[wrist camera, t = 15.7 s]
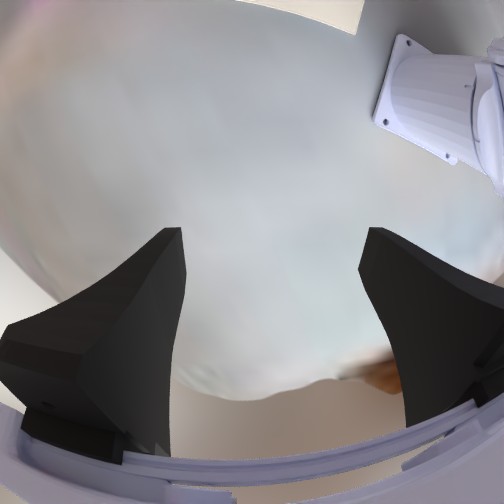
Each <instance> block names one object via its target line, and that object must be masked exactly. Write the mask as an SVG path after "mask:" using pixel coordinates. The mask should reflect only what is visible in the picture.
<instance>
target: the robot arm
mask: <svg viewBox="0 0 504 504" xmlns="http://www.w3.org/2000/svg"><path fill="white" fill-rule="evenodd" d="M406 41H408V42H409V46H408V45H407V43H406ZM487 52H488V55H489V58H488V57H478V56H466V55H441V54H433V53H432V52H431V51H429V50H428V49H426V48H425V47H423V46H422V45H420V44H419V43H417V42H416V41H414V40H412V39H411V38H409V37H407V36H406V35H404V34H398V35H397V36H396V39H395V43H394V47H393V50H392V54H391V58H390V62H389V65H388V69H387V72H386V76H385V79H384V82H383V86H382V89H381V92H380V96H379V99H378V102H377V105H376V108H375V111H374V114H373V122H374V124H376V125H377V126H380V127H382V128H384V129H386V130H388V131H391V132H393V133H395V134H397V135H399V136H401V137H403V138H405V139H407V140H409V141H411V142H413V143H415V144H417V145H418V146H420V147H422V148H424V149H426V150H428V151H429V152H431V153H433V154H435V155H437V156H438V157H440V158H442V159H443V160H445V161H447V162H448V163H450V164H452V165H456V164H457V162H458V159H459V160H461V161H463V162H464V163H466V164H468V165H470V166H472V167H473V168H475V169H477V170H479V171H480V172H482V173H484V174H485V175H487V176H488V177H490V178H491V180H492V182H493V186H494V192H495V193H496V194H498V195H499V196H501V197H502V198H503V199H504V38H495V39H494V40H493V41H492V43H491V46H489V47H488V48H487ZM384 119H386V121H387V122H386V124H385V125H384V124H383V120H384ZM446 154H447V156H446ZM358 271H359V274H360V277H361V280H362V283H363V286H364V288H365V291H366V293H367V295H368V297H369V299H370V301H371V303H372V305H373V307H374V309H375V311H376V313H377V315H378V317H379V319H380V321H381V323H382V325H383V327H384V329H385V331H386V334H387V336H388V338H389V341H390V344H391V347H392V350H393V354H394V357H395V360H396V364H397V368H398V372H399V376H400V381H401V386H402V392H403V397H404V405H405V416H406V429H403V430H400V431H397V432H394V433H391V434H388V435H385V436H381V437H378V438H375V439H371V440H368V441H364V442H360V443H356V444H352V445H348V446H343V447H339V448H334V449H329V450H324V451H318V452H313V453H306V454H300V455H292V456H285V457H274V458H261V459H245V460H244V459H242V460H204V459H203V460H202V459H185V458H173V457H171V453H170V430H169V396H170V375H171V361H172V352H173V345H174V340H175V336H176V331H177V326H178V322H179V317H180V313H181V308H182V304H183V299H184V294H185V284H186V274H187V273H186V265H185V257H184V249H183V241H182V232H181V227H175V228H164V229H162V230H161V231H160V232H159V233H157V234H156V235H155V236H154V237H153V238H152V239H151V240H149V241H148V242H147V243H146V244H145V245H144V246H143V247H141V248H140V249H139V250H138V251H137V252H136V253H135V254H133V255H132V256H131V257H130V258H128V259H127V260H126V261H125V262H123V263H122V264H121V265H120V266H119V267H117V268H116V269H115V270H113V271H112V272H111V273H109V274H108V275H107V276H105V277H104V278H102V279H101V280H99V281H98V282H96V283H95V284H93V285H92V286H90V287H88V288H87V289H85V290H83V291H81V292H80V293H78V294H76V295H75V296H73V297H71V298H69V299H68V300H66V301H64V302H62V303H60V304H58V305H56V306H54V307H52V308H49V309H47V310H45V311H43V312H41V313H39V314H36V315H34V316H31V317H28V318H26V319H23V320H20V321H18V322H15V323H12V324H10V325H8V326H7V328H6V329H5V331H4V333H3V335H2V337H1V339H0V381H1V382H2V383H3V384H4V385H5V386H6V387H7V388H8V389H9V390H10V391H11V392H12V393H13V394H14V395H15V396H16V397H17V398H18V399H19V400H20V401H21V402H22V403H23V404H24V405H25V406H26V407H27V408H26V411H25V414H24V415H23V414H22V413H20V412H19V411H17V410H15V409H13V408H11V407H9V406H7V405H5V404H3V403H1V402H0V484H1V485H2V486H4V487H5V488H7V489H8V490H9V491H11V492H12V493H14V494H15V495H16V496H18V497H20V498H21V499H22V500H24V501H25V502H27V503H28V504H237V503H236V502H237V501H236V498H235V497H233V496H232V493H231V492H230V491H228V490H215V489H204V488H195V487H187V486H177V485H172V484H179V485H192V486H212V487H235V486H237V487H238V486H257V485H258V486H259V485H272V484H281V483H289V482H297V481H303V480H309V479H315V478H320V477H325V476H330V475H335V474H339V473H343V472H347V471H351V470H355V469H359V468H362V467H366V466H369V465H372V464H375V463H379V462H382V461H385V460H387V459H390V458H393V457H396V456H399V455H401V454H403V453H406V452H409V451H411V450H414V449H416V448H419V447H421V446H423V445H425V444H428V443H430V442H432V441H434V440H436V439H439V438H440V437H442V436H444V438H443V439H441V440H440V441H438V442H436V443H434V444H433V445H432V446H430V447H429V448H428V449H427V450H425V451H423V452H422V453H420V454H418V455H417V456H415V457H413V458H411V459H409V460H408V461H406V462H404V463H402V465H401V467H402V470H403V472H401V473H399V474H396V475H393V476H391V477H388V478H385V479H383V480H380V481H377V482H374V483H371V484H368V485H365V486H362V487H358V488H355V489H352V490H348V491H344V492H341V493H337V494H333V495H328V496H324V497H319V498H314V499H309V500H304V501H298V502H291V503H284V504H504V288H502V287H499V286H496V285H494V284H491V283H488V282H486V281H483V280H481V279H479V278H476V277H474V276H472V275H469V274H467V273H465V272H463V271H461V270H459V269H457V268H455V267H453V266H451V265H449V264H448V263H446V262H444V261H442V260H440V259H439V258H437V257H435V256H433V255H432V254H430V253H428V252H427V251H425V250H423V249H422V248H420V247H418V246H417V245H415V244H413V243H411V242H410V241H408V240H406V239H405V238H403V237H401V236H399V235H397V234H395V233H394V232H392V231H389V230H387V229H385V228H379V227H369V231H368V235H367V238H366V242H365V246H364V250H363V253H362V257H361V260H360V264H359V267H358Z"/></svg>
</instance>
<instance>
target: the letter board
mask: <svg viewBox="0 0 504 504" xmlns="http://www.w3.org/2000/svg"><path fill="white" fill-rule="evenodd" d="M237 1H242V2H248V3H253V4H258V5H263V6H267V7H271V8H275V9H279V10H283V11H287V12H290V13H294V14H297V15H301V16H304V17H307V18H310V19H313V20H316V21H319V22H322V23H325V24H327V25H330V26H333V27H335V28H338V29H340V30H343V31H345V32H347V33H350V34H352V35H356V31H357V27H358V24H359V20H360V16H361V13H362V9H363V5H364V1H365V0H237Z"/></svg>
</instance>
